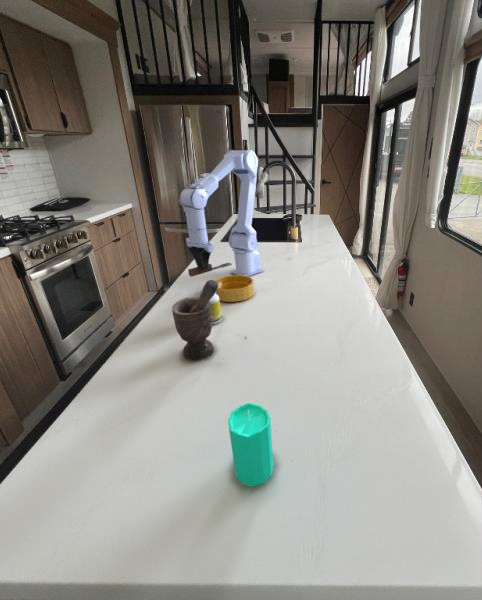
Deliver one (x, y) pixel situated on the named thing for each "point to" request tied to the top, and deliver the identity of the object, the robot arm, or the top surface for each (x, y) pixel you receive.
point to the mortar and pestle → (195, 322)
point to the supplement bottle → (215, 309)
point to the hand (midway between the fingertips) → (203, 268)
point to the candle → (251, 444)
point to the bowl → (235, 288)
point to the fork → (198, 270)
